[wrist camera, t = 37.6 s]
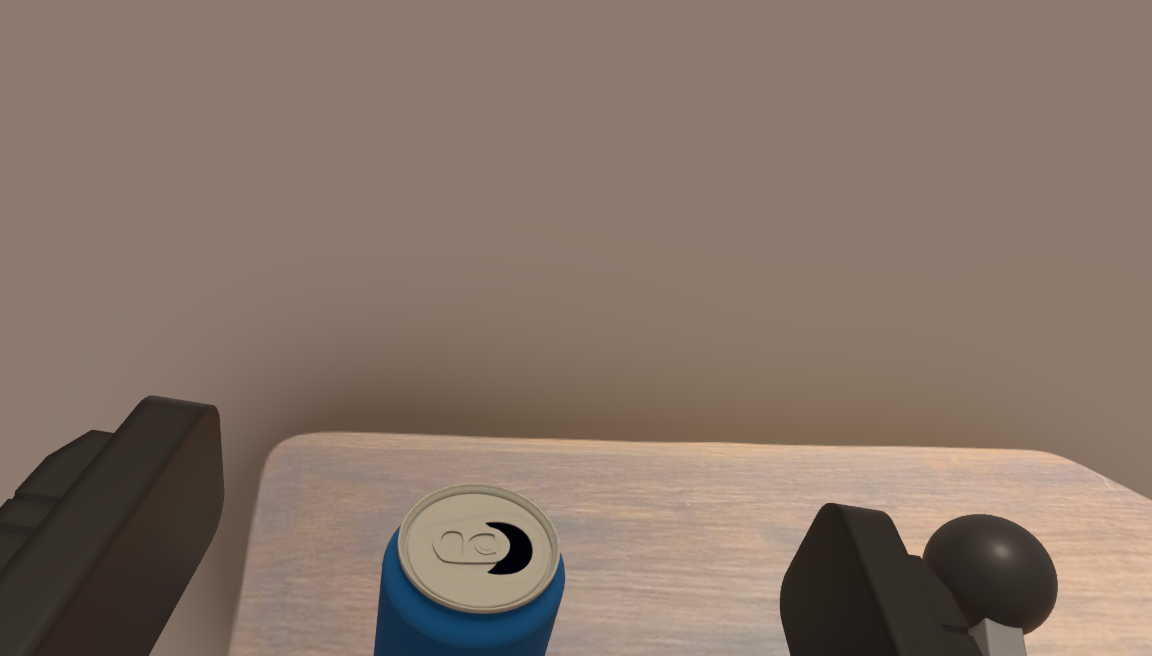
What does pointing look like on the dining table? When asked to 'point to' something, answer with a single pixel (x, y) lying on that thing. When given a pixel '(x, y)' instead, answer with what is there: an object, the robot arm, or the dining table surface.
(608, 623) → the dining table surface
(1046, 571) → the press lever
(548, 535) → the beverage can
